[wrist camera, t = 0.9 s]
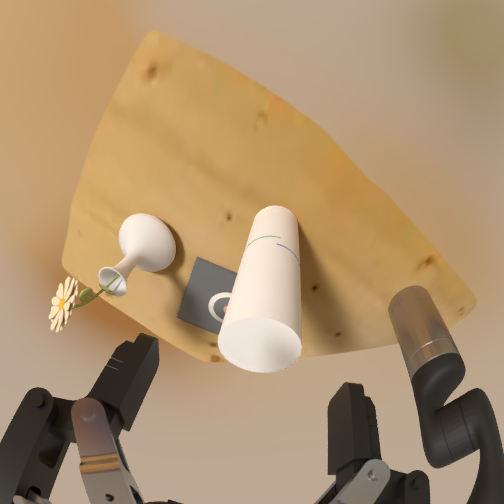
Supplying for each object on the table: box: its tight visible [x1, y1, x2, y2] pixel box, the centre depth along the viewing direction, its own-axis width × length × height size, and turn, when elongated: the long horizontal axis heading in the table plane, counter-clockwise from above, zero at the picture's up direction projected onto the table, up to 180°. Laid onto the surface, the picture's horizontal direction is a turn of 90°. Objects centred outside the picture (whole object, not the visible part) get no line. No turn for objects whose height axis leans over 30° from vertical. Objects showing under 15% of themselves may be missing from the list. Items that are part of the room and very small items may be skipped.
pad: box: [177, 257, 237, 335], centre depth 53 cm, size 18×16×1 cm
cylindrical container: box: [218, 206, 302, 372], centre depth 34 cm, size 7×7×25 cm
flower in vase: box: [49, 213, 176, 332], centre depth 38 cm, size 13×11×25 cm
